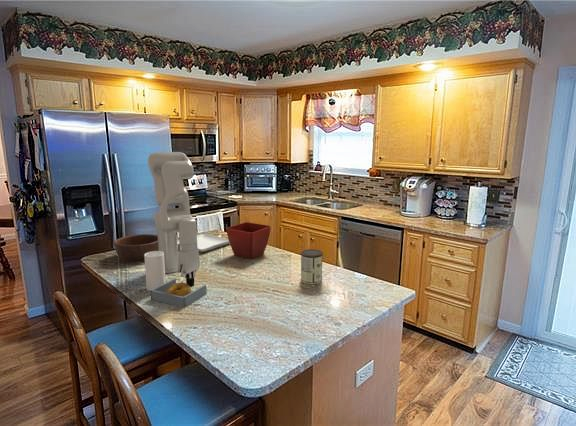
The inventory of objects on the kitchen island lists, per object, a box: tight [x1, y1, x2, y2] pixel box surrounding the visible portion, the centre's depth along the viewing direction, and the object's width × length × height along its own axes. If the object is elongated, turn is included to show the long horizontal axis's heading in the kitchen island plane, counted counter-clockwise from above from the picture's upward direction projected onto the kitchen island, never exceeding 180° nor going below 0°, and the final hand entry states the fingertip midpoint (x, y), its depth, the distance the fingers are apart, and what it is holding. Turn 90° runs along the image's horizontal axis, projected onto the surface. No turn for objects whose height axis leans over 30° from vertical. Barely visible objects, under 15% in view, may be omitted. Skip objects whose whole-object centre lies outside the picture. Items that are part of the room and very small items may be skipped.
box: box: [149, 278, 208, 308], centre depth 157 cm, size 18×15×4 cm
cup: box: [144, 251, 167, 292], centre depth 165 cm, size 8×8×16 cm
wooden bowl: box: [113, 233, 159, 263], centre depth 209 cm, size 25×25×10 cm
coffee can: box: [300, 248, 324, 285], centre depth 175 cm, size 10×10×14 cm
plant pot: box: [225, 221, 272, 260], centre depth 213 cm, size 19×19×17 cm
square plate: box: [177, 233, 230, 253], centre depth 233 cm, size 27×27×4 cm
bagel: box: [166, 282, 192, 297], centre depth 158 cm, size 10×11×5 cm
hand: (190, 285), depth 164 cm, fingers closed
